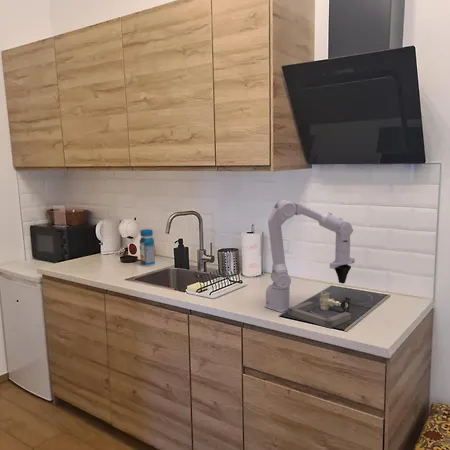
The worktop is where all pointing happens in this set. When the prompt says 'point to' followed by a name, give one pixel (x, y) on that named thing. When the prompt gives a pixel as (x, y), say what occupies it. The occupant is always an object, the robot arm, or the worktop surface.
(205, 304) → the worktop surface
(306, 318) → the chassis bay
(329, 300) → the valve
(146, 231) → the beverage bottle
